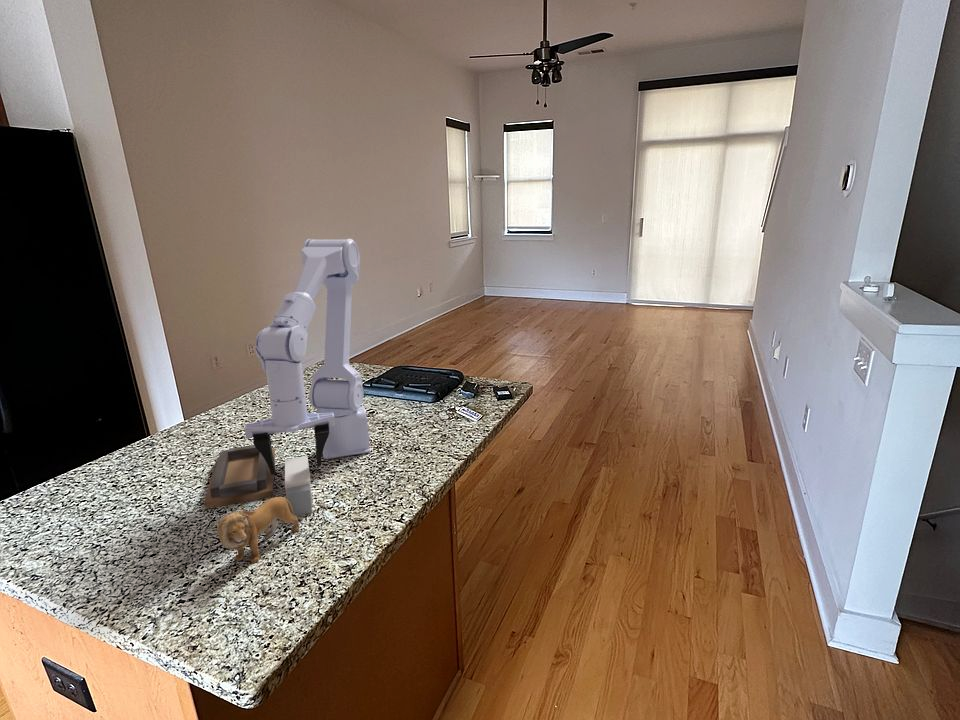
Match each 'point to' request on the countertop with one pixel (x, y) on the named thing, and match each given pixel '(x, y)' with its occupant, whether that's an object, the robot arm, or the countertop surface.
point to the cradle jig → (239, 477)
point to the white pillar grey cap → (298, 485)
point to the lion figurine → (254, 526)
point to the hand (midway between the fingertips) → (296, 467)
